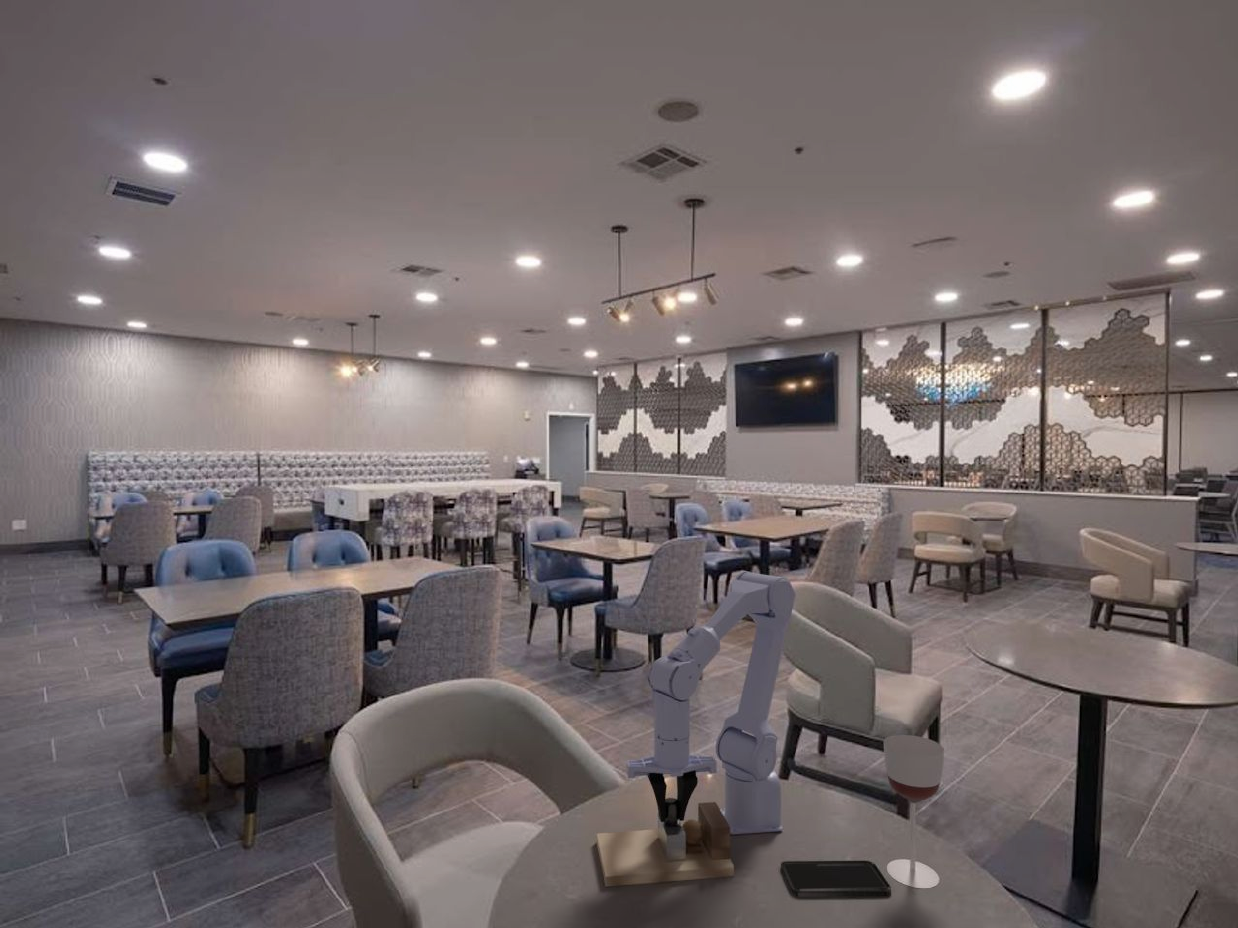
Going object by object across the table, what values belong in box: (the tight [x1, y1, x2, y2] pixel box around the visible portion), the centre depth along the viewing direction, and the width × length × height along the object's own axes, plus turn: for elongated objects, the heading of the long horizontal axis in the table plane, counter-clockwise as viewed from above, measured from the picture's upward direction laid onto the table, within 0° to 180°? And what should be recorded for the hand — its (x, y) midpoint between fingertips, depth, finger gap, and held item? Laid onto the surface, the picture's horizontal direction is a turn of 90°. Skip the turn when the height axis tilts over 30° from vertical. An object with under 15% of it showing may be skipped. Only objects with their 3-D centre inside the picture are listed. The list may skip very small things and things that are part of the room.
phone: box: [780, 860, 892, 898], centre depth 103 cm, size 8×1×15 cm
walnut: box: [682, 819, 703, 845], centre depth 109 cm, size 4×4×4 cm
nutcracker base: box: [596, 801, 735, 888], centre depth 108 cm, size 20×12×6 cm, turn 98°
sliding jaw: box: [657, 797, 686, 861], centre depth 108 cm, size 3×7×8 cm, turn 8°
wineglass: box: [883, 734, 945, 889], centre depth 105 cm, size 8×9×20 cm
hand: (671, 818), depth 108 cm, fingers closed on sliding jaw, 2 cm apart
